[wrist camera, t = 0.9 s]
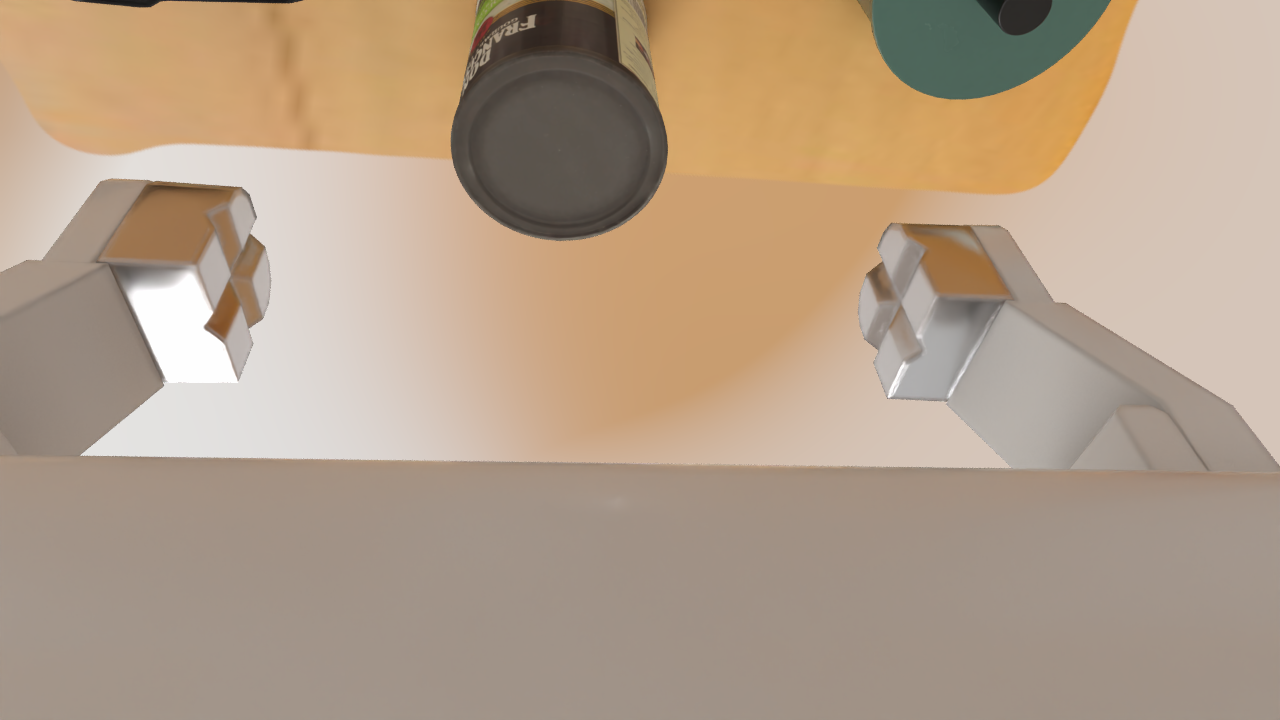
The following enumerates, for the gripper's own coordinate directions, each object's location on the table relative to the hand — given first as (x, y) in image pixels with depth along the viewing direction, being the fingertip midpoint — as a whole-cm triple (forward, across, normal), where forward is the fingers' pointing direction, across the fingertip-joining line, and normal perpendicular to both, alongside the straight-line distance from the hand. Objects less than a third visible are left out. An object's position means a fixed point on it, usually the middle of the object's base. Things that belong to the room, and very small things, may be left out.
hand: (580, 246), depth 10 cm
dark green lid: (+31, -21, +6) cm, 38 cm away
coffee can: (+40, 0, +14) cm, 42 cm away
